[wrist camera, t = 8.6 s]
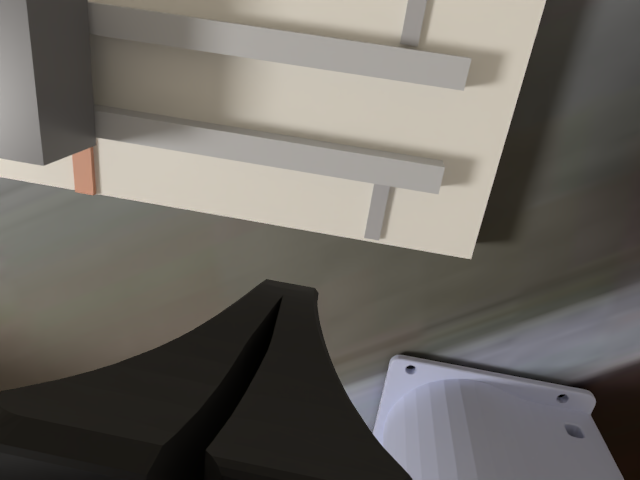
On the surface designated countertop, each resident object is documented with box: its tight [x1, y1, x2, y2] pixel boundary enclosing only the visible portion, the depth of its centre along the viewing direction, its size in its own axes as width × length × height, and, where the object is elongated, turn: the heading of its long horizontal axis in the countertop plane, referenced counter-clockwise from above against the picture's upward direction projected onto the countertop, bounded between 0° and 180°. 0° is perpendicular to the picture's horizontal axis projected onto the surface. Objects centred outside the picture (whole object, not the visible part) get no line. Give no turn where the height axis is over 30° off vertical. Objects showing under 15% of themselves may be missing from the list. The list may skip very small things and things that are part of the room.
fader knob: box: [0, 0, 96, 166], centre depth 16 cm, size 4×5×4 cm
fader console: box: [0, 0, 546, 259], centre depth 18 cm, size 22×10×2 cm, turn 82°
